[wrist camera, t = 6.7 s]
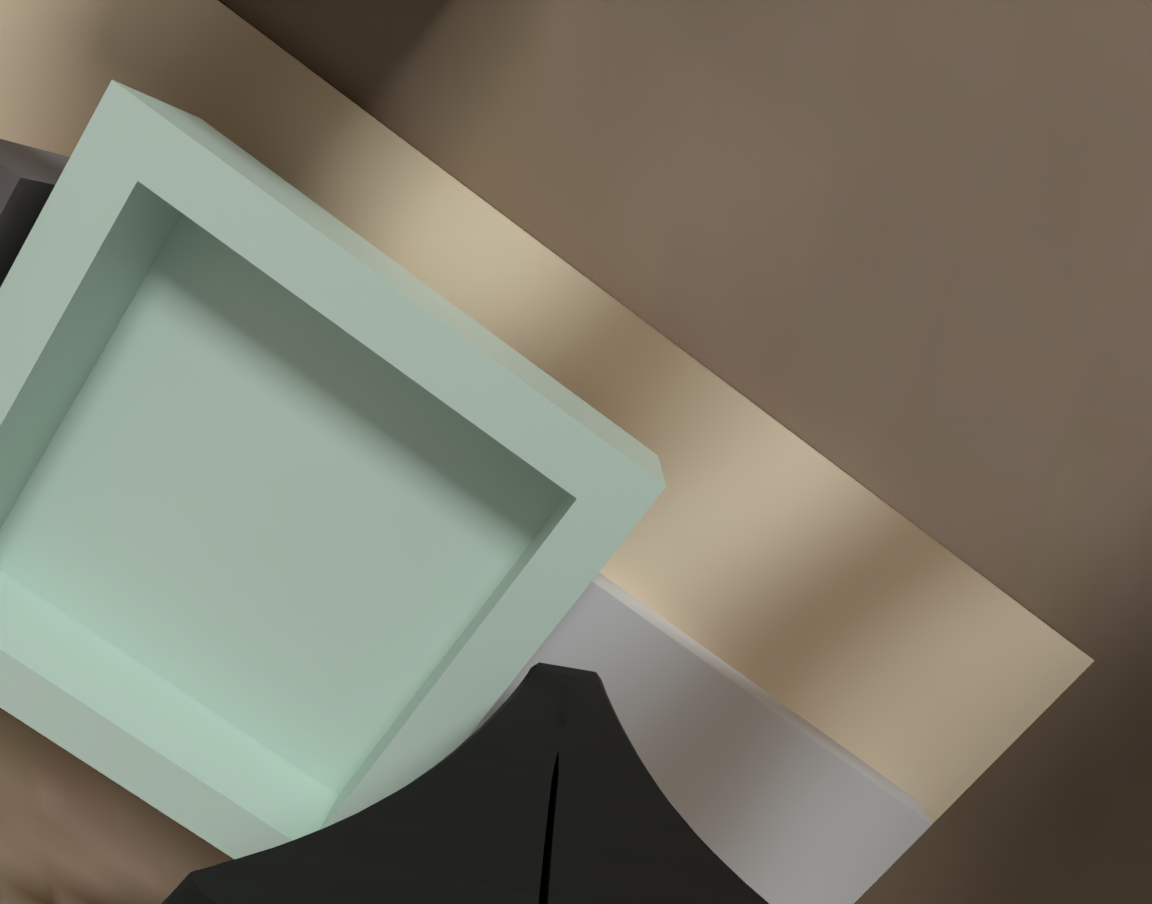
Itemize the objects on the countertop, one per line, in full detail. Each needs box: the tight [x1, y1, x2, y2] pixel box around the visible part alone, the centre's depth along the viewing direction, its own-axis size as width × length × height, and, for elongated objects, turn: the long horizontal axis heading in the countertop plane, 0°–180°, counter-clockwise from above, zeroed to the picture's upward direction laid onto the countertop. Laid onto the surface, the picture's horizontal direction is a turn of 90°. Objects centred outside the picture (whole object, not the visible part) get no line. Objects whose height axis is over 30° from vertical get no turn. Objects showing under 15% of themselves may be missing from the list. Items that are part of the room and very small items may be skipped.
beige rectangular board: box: [0, 0, 1094, 904], centre depth 11 cm, size 21×11×3 cm, turn 54°
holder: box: [0, 80, 666, 859], centre depth 11 cm, size 8×8×2 cm
